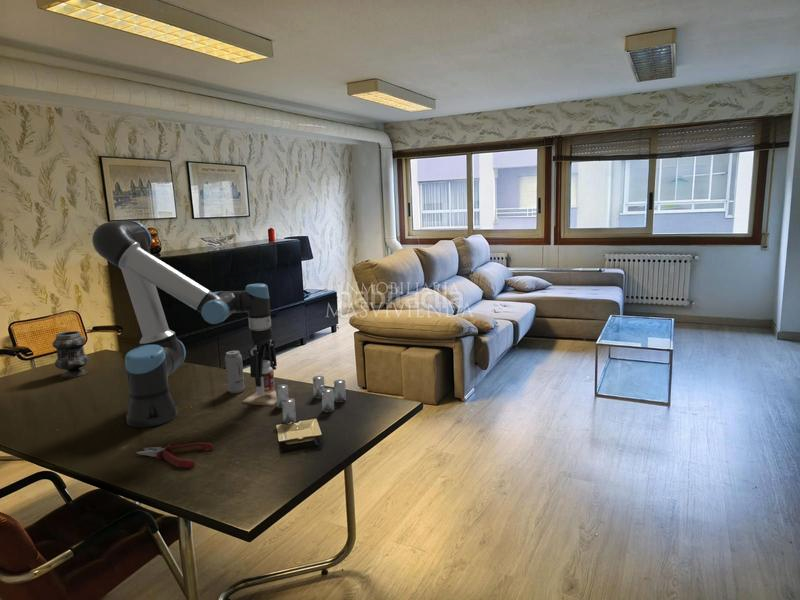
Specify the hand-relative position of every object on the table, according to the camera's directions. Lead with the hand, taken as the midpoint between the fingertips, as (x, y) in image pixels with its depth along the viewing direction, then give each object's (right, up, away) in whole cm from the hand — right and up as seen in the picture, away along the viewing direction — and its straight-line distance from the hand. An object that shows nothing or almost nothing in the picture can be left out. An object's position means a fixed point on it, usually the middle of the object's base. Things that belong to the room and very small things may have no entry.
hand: (265, 390), depth 185 cm
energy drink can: (-13, -2, +9) cm, 16 cm away
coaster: (0, -3, +1) cm, 3 cm away
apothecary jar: (-89, +1, +33) cm, 95 cm away
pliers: (-14, -12, -39) cm, 43 cm away
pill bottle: (0, -1, 0) cm, 1 cm away
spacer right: (+24, -4, -12) cm, 27 cm away
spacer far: (+19, -2, +1) cm, 19 cm away
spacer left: (+8, -4, -7) cm, 11 cm away
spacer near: (+13, -6, -20) cm, 24 cm away
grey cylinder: (+27, -3, -3) cm, 27 cm away
